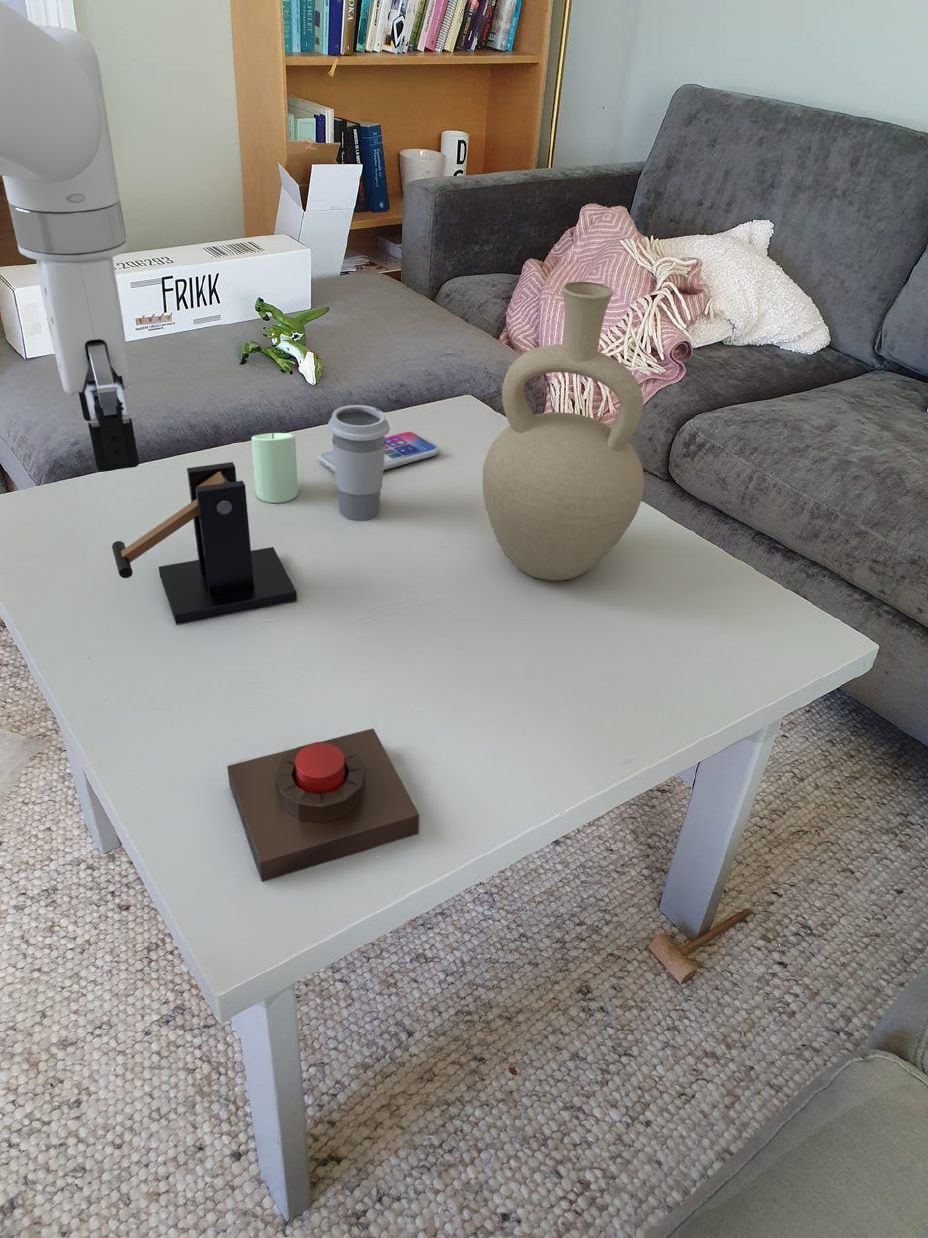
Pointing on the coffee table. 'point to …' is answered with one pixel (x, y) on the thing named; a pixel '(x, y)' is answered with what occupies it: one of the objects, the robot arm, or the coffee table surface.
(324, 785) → the button
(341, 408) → the cup
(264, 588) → the bracket
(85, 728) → the coffee table surface
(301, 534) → the coffee table surface
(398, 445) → the smartphone
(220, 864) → the coffee table surface
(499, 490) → the vase
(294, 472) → the candle
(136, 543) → the lever
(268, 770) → the button box
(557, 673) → the coffee table surface
